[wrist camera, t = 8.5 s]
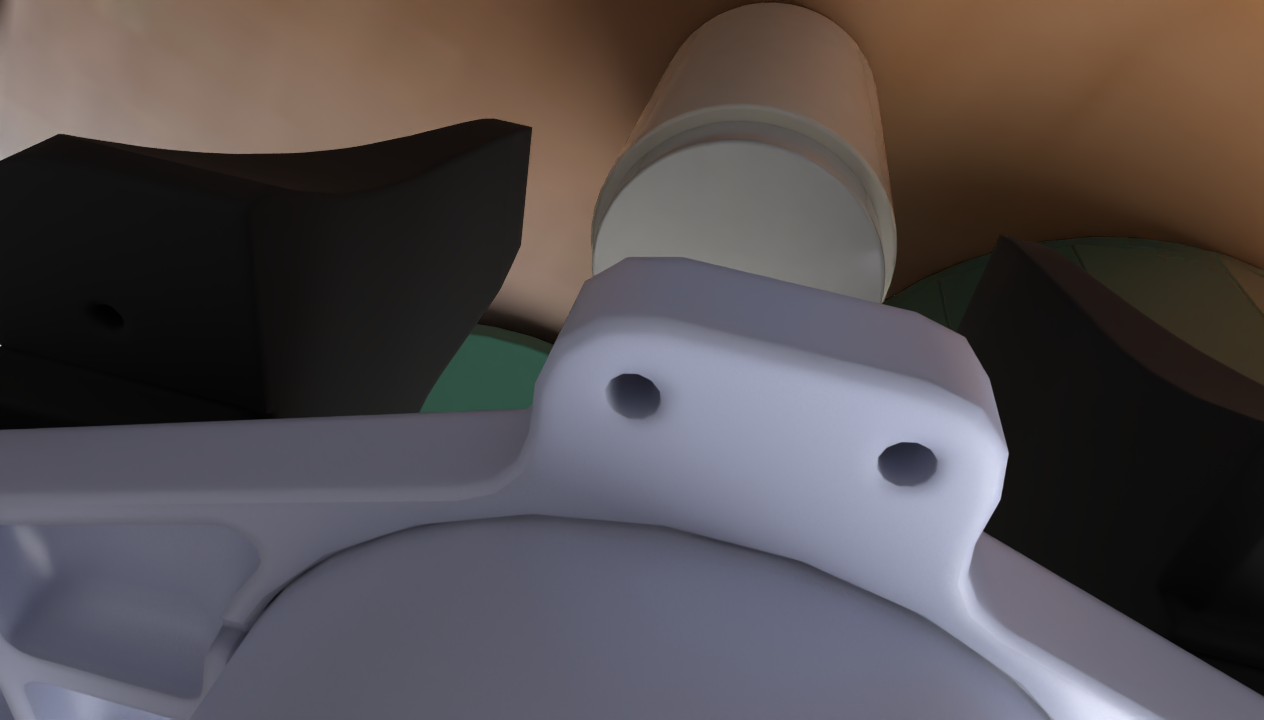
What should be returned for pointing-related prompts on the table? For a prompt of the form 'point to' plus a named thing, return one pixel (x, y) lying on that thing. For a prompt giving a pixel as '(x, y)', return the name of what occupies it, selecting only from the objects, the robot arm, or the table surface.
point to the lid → (490, 372)
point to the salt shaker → (759, 158)
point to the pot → (1138, 293)
